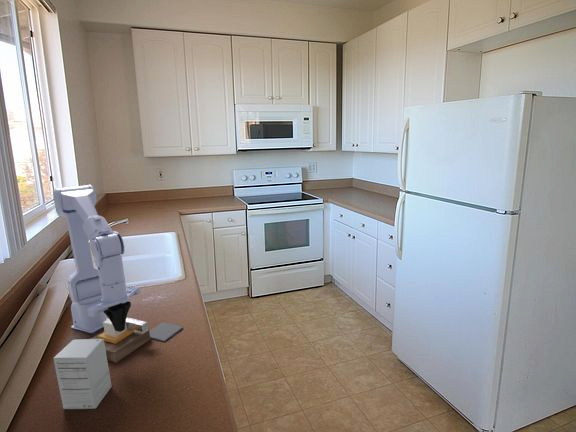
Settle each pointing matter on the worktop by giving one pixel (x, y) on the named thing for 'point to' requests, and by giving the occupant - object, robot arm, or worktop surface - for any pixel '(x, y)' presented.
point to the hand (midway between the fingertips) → (119, 330)
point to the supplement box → (83, 373)
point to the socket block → (125, 345)
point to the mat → (164, 331)
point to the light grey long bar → (136, 324)
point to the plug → (114, 333)
